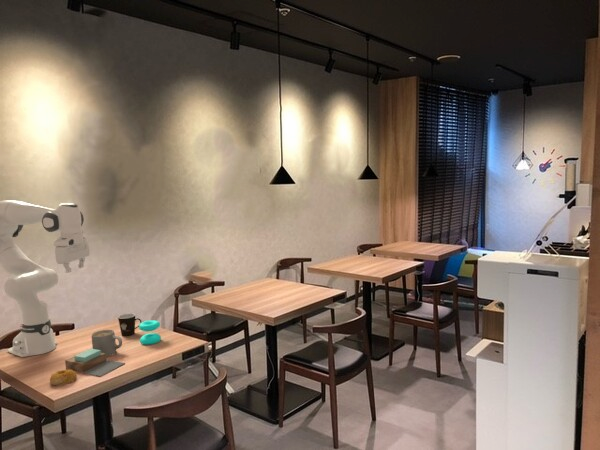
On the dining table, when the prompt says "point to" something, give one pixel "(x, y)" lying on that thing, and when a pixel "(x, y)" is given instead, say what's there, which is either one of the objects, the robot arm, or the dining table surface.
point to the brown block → (84, 363)
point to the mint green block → (87, 355)
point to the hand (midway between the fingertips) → (75, 270)
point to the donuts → (150, 337)
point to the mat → (103, 368)
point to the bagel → (63, 377)
